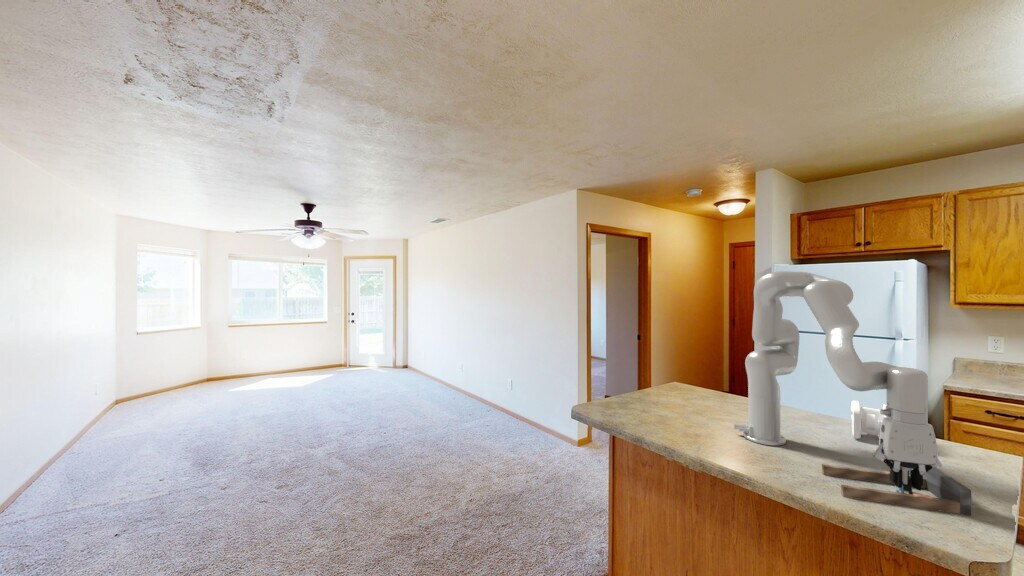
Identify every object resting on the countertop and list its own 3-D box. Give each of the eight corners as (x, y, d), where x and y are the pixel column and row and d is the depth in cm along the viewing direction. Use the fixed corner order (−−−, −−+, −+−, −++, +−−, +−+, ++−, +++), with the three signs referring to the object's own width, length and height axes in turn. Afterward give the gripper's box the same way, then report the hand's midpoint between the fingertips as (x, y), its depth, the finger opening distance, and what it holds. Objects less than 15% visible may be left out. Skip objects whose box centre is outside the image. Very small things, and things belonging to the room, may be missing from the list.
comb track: (843, 496, 100) (843, 473, 100) (821, 472, 112) (821, 452, 112) (971, 515, 91) (971, 490, 91) (932, 487, 104) (932, 465, 104)
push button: (921, 502, 97) (921, 463, 96) (891, 495, 100) (892, 457, 100) (916, 491, 102) (916, 454, 102) (888, 485, 105) (888, 448, 105)
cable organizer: (893, 448, 129) (893, 414, 129) (851, 440, 136) (851, 407, 136) (889, 435, 140) (889, 403, 140) (850, 428, 147) (850, 398, 147)
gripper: (874, 416, 100) (873, 488, 100) (959, 424, 94) (959, 500, 94) (859, 408, 107) (859, 474, 107) (938, 415, 101) (937, 485, 101)
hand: (906, 485), depth 100 cm, fingers closed on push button, 3 cm apart
